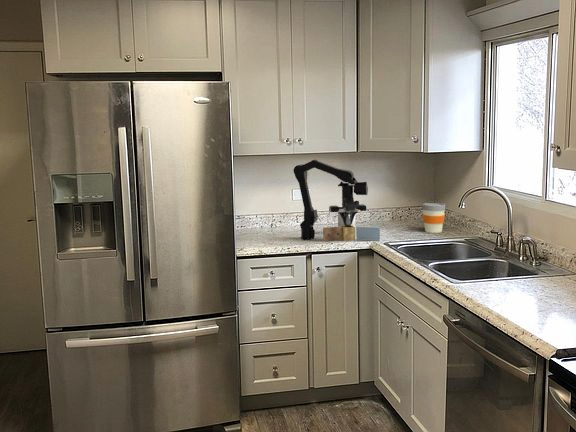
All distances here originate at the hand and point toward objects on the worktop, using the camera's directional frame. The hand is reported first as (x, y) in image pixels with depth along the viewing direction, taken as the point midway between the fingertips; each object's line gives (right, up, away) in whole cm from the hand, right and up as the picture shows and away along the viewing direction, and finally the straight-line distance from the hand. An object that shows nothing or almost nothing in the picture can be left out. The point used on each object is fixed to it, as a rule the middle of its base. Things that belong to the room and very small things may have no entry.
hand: (347, 224), depth 322 cm
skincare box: (+1, -6, +17) cm, 18 cm away
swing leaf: (+10, -8, -2) cm, 13 cm away
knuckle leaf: (-5, -8, +1) cm, 9 cm away
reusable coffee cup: (+49, -4, +19) cm, 53 cm away
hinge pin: (0, -3, 0) cm, 3 cm away
